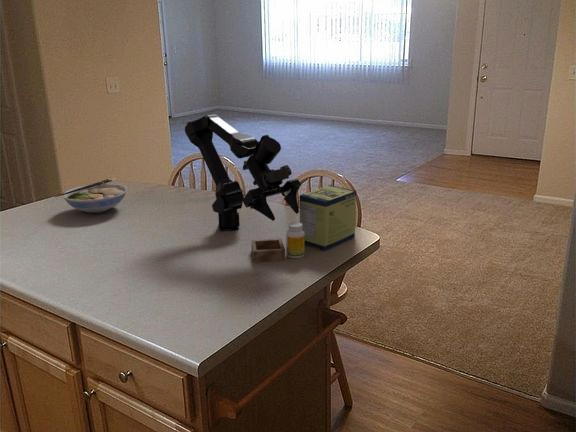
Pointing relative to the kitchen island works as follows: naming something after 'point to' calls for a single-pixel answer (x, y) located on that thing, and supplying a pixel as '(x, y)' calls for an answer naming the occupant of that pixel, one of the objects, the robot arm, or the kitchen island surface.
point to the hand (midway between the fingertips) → (286, 216)
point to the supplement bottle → (295, 240)
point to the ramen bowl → (95, 196)
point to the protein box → (328, 216)
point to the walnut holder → (268, 250)
